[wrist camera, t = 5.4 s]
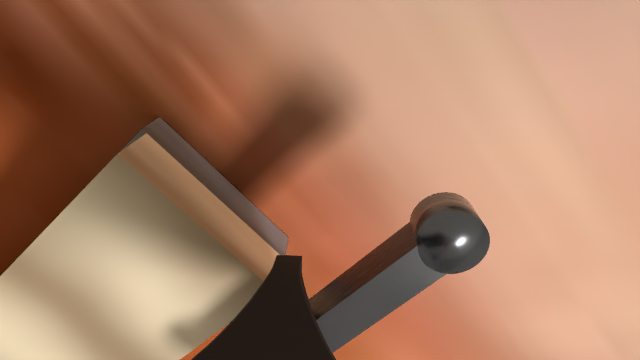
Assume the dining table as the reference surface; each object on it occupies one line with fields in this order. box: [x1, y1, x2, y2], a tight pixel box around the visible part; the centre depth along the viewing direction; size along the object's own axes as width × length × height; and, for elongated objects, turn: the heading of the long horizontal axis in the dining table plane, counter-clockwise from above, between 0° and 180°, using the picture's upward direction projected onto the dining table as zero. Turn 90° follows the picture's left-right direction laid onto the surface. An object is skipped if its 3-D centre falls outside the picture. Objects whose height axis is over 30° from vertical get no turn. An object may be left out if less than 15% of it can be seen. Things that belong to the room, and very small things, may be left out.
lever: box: [230, 192, 490, 353], centre depth 14 cm, size 10×2×5 cm, turn 134°
